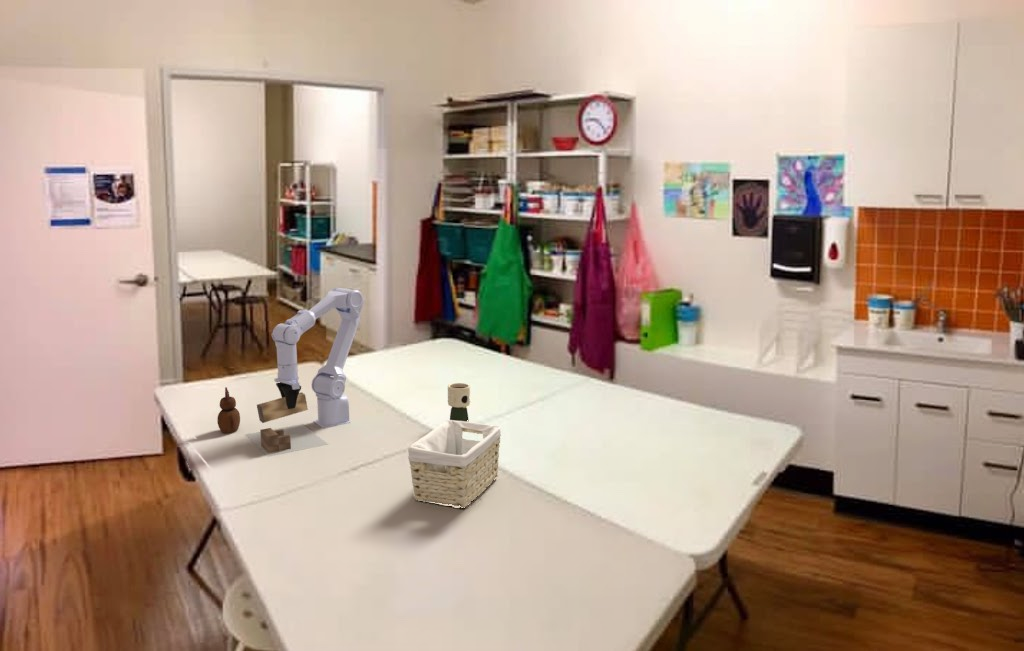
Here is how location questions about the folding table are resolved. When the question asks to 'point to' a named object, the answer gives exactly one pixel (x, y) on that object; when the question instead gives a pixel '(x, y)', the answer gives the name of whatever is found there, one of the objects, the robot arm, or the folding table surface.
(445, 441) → the storage basket
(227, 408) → the wooden figurine
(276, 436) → the bracket
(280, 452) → the mat
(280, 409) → the rail
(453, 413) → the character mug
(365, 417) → the folding table surface
